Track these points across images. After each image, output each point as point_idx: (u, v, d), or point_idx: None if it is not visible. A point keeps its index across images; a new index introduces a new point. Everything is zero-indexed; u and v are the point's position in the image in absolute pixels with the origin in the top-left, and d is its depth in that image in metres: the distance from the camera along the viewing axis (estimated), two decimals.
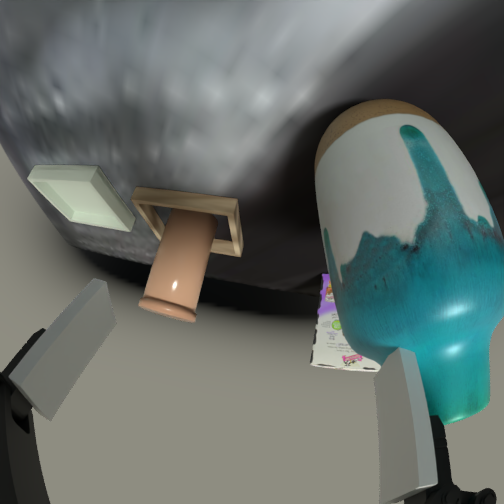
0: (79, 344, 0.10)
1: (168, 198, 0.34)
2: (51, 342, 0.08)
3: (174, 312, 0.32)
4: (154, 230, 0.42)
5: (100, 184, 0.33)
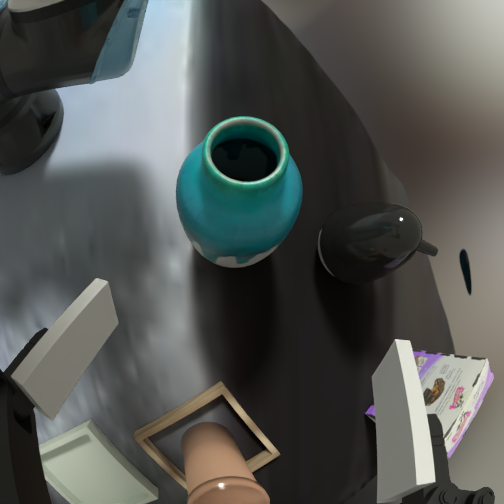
0: (81, 343, 0.10)
1: (166, 417, 0.29)
2: (53, 341, 0.08)
3: (228, 481, 0.18)
4: (179, 480, 0.27)
5: (99, 436, 0.26)
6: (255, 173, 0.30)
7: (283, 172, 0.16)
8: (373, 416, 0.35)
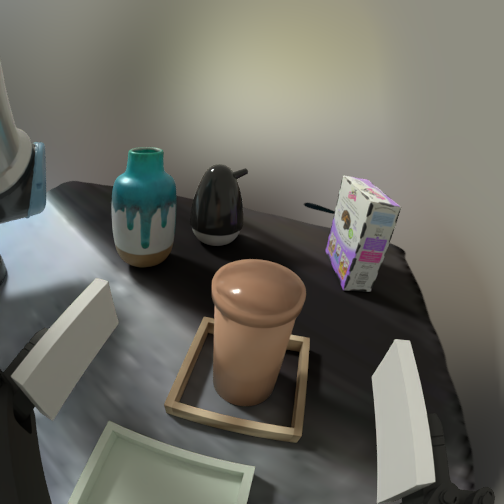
0: (81, 343, 0.10)
1: None
2: (53, 341, 0.08)
3: (227, 265, 0.25)
4: (252, 424, 0.24)
5: None
6: None
7: None
8: (346, 279, 0.46)
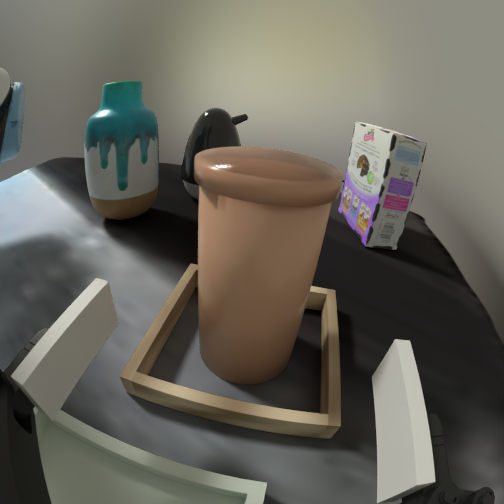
0: (81, 344, 0.10)
1: None
2: (53, 342, 0.08)
3: None
4: (261, 410, 0.15)
5: None
6: None
7: (141, 82, 0.31)
8: (368, 232, 0.37)
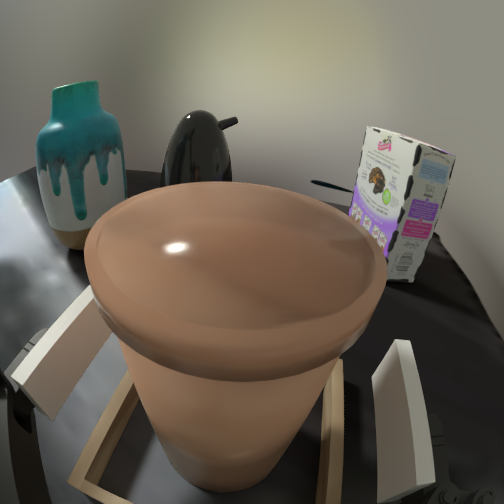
0: (81, 343, 0.10)
1: None
2: (53, 341, 0.08)
3: None
4: None
5: None
6: None
7: (97, 81, 0.22)
8: None
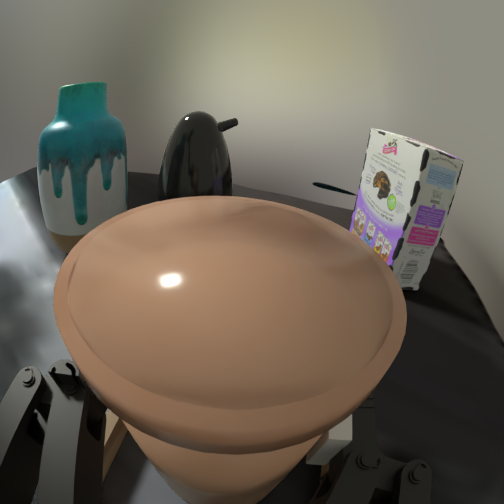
0: None
1: None
2: None
3: None
4: None
5: None
6: None
7: None
8: None
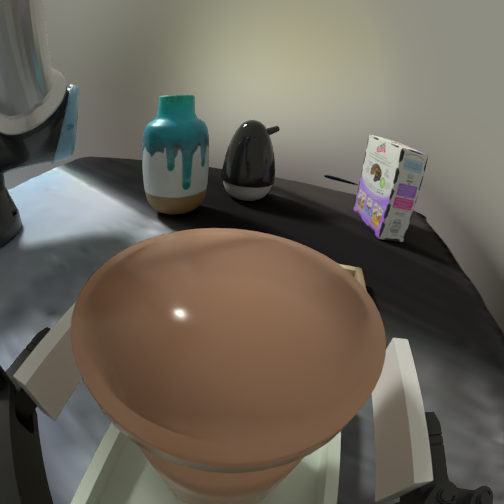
0: None
1: None
2: (56, 341, 0.08)
3: None
4: None
5: None
6: None
7: None
8: (381, 227, 0.45)
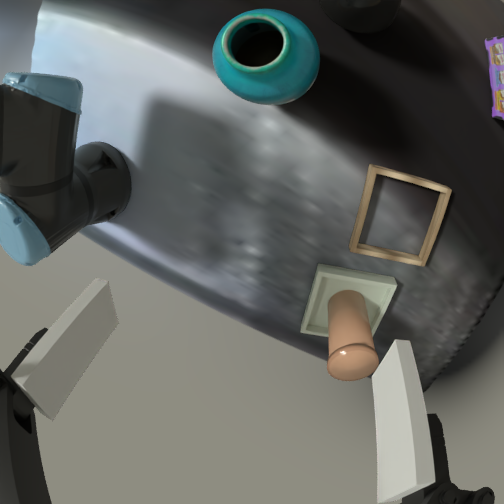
0: (81, 344, 0.10)
1: (358, 219, 0.41)
2: (53, 342, 0.08)
3: (336, 354, 0.36)
4: (400, 259, 0.41)
5: (331, 270, 0.45)
6: (242, 36, 0.26)
7: (283, 24, 0.16)
8: (499, 117, 0.26)
